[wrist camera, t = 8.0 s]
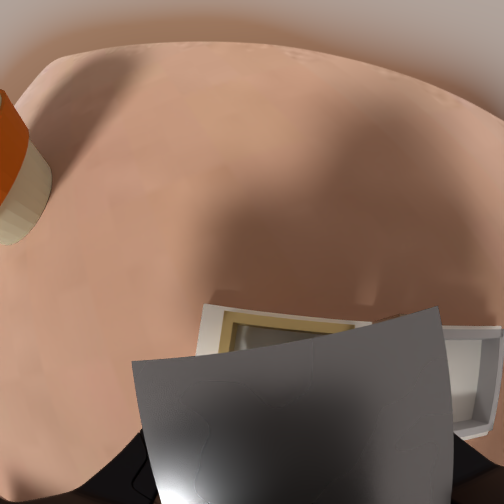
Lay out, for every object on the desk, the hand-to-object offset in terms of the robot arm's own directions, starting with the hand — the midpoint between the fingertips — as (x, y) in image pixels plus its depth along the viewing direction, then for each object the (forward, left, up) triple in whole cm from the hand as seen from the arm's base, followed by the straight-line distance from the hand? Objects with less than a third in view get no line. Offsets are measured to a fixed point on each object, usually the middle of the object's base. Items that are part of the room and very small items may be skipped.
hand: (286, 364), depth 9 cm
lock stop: (-1, -1, -6) cm, 6 cm away
